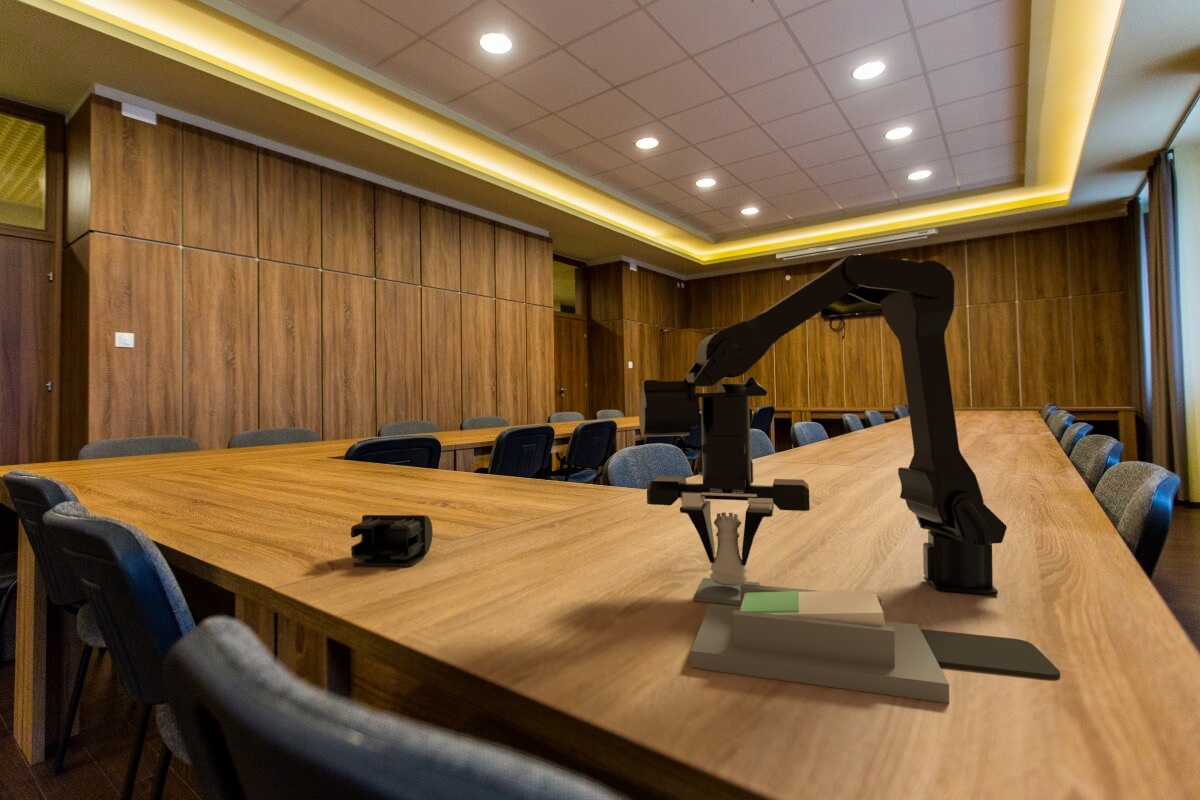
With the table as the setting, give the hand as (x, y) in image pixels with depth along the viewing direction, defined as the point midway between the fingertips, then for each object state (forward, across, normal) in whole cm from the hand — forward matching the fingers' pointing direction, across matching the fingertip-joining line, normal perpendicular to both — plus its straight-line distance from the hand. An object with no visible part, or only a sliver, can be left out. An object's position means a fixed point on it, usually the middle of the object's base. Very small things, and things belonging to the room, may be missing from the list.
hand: (728, 563), depth 69 cm
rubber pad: (+4, 0, 0) cm, 4 cm away
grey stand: (+4, -9, +14) cm, 17 cm away
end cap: (+4, +50, -1) cm, 50 cm away
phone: (+4, -21, +10) cm, 24 cm away
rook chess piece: (+2, 0, 0) cm, 2 cm away
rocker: (0, -9, +14) cm, 17 cm away
